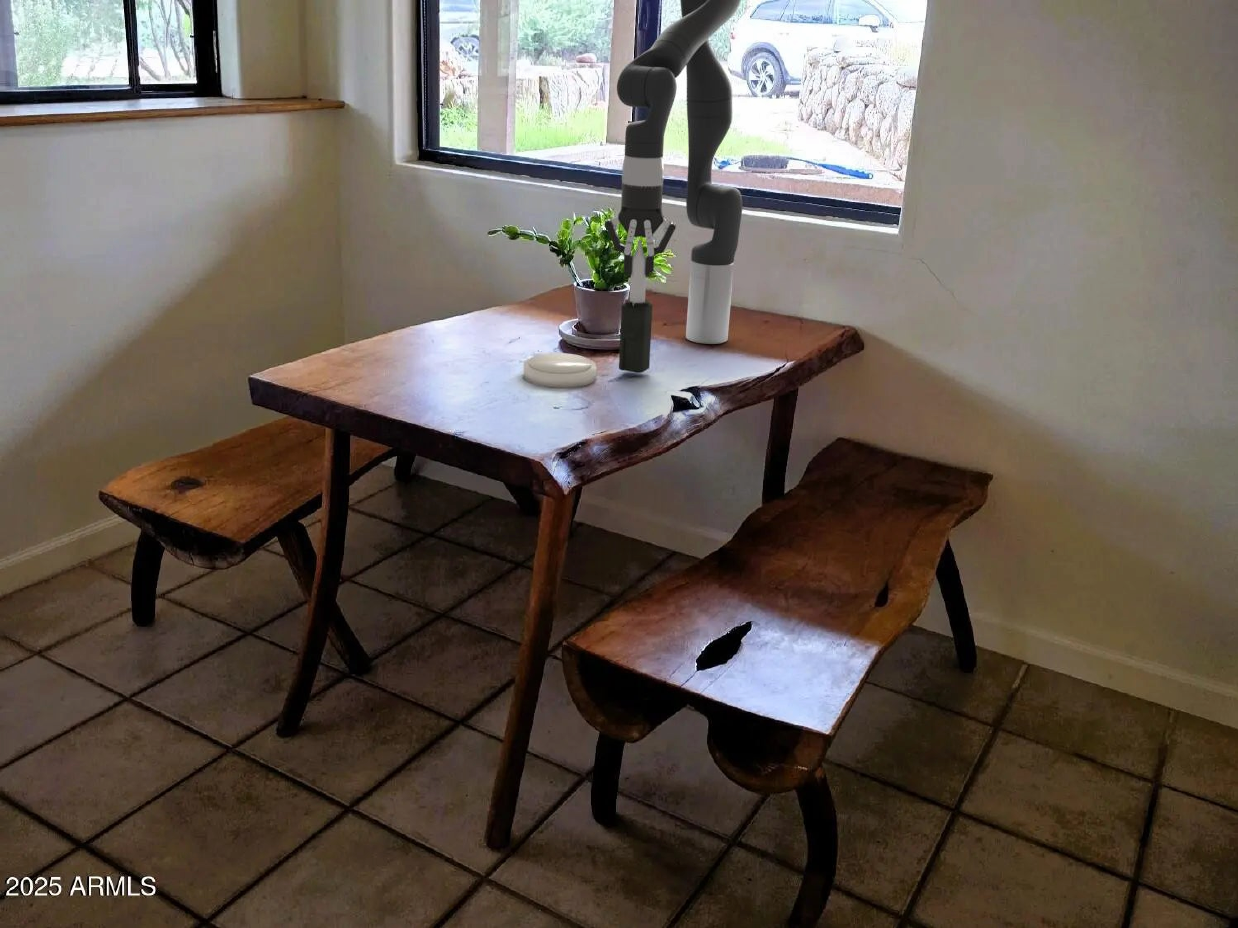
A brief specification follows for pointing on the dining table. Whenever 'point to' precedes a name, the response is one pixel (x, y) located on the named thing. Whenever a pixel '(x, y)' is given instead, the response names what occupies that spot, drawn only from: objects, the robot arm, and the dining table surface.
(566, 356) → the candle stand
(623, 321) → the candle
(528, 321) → the dining table surface
